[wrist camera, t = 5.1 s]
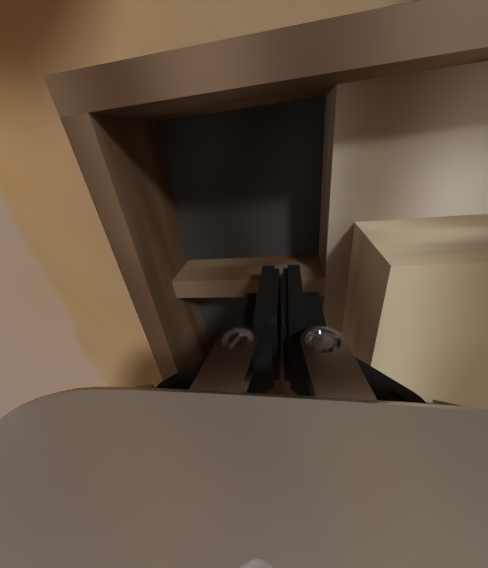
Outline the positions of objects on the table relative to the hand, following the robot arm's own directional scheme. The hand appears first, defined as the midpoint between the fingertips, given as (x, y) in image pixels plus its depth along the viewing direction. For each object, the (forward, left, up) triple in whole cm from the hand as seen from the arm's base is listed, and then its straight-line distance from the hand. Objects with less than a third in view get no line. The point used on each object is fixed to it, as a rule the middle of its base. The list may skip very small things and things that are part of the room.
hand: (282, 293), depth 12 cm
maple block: (-5, -4, 0) cm, 7 cm away
